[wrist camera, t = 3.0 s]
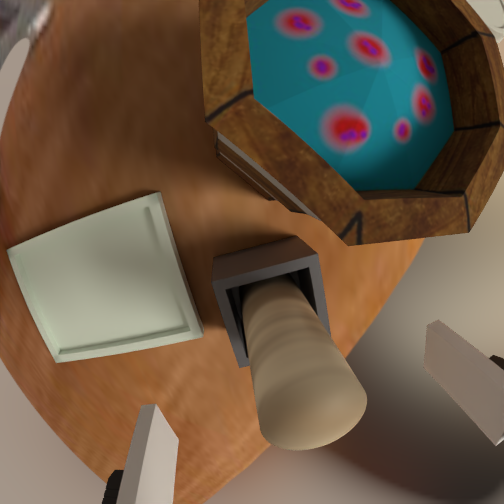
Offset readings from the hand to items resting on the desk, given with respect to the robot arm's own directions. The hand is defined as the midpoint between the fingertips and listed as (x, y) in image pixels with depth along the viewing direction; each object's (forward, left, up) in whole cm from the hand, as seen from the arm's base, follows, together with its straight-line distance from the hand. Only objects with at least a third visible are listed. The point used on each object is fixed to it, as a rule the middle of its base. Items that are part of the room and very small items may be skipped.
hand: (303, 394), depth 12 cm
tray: (-4, -14, -13) cm, 19 cm away
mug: (-15, +7, -13) cm, 21 cm away
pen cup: (0, 0, -13) cm, 13 cm away
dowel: (0, 0, -12) cm, 12 cm away
